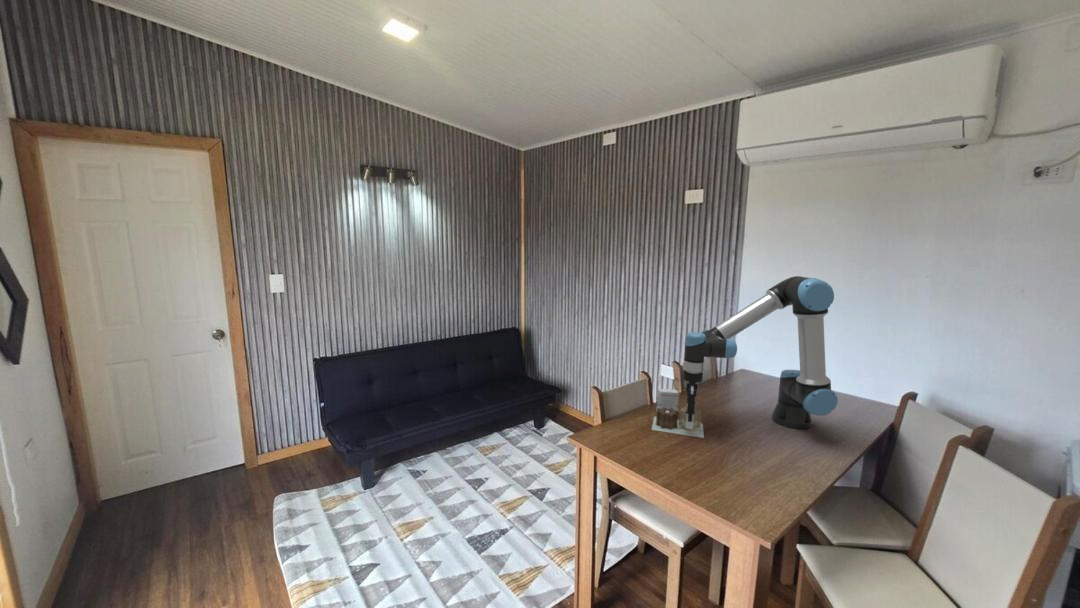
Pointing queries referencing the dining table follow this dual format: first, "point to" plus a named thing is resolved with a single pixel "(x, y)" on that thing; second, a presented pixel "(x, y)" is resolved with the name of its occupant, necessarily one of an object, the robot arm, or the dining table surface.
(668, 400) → the ink box
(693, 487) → the dining table surface
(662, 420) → the gear
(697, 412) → the gear
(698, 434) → the gear board
